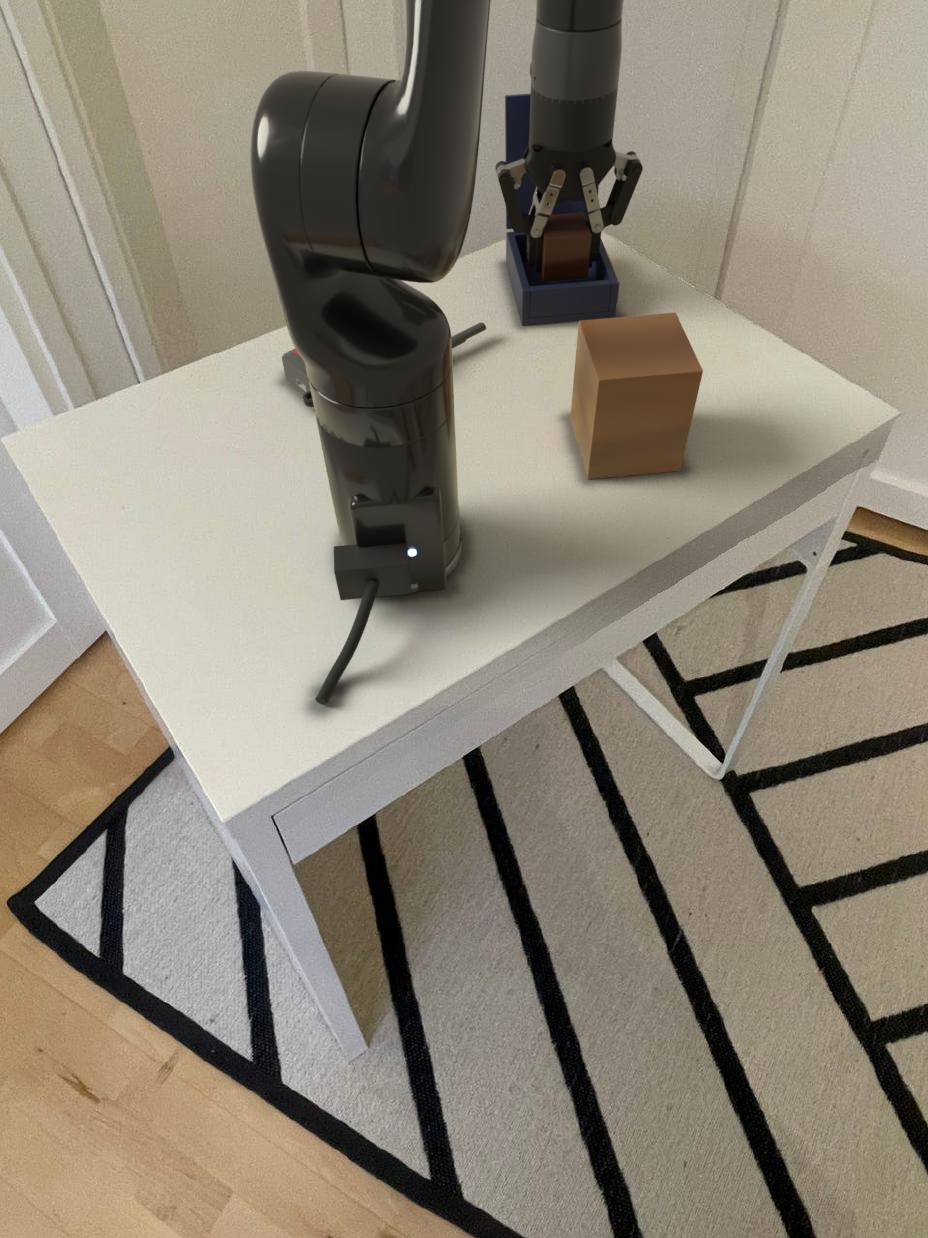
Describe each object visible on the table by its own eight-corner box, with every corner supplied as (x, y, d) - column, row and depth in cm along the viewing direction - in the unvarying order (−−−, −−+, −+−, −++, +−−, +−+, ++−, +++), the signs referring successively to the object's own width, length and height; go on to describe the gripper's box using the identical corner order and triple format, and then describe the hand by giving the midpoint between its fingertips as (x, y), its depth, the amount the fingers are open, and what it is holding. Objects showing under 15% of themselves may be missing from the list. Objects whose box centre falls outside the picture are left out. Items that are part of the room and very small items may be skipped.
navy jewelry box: (615, 317, 87) (619, 282, 84) (521, 325, 86) (522, 291, 83) (592, 258, 94) (595, 224, 91) (505, 265, 93) (506, 231, 90)
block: (587, 278, 86) (591, 234, 82) (543, 281, 86) (545, 238, 82) (579, 255, 89) (582, 211, 85) (536, 258, 88) (537, 215, 85)
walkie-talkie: (323, 428, 77) (492, 342, 85) (315, 388, 74) (492, 301, 81) (272, 383, 81) (437, 305, 89) (262, 343, 78) (435, 265, 85)
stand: (680, 470, 72) (703, 370, 64) (587, 479, 72) (598, 380, 64) (657, 411, 77) (675, 311, 69) (569, 419, 77) (578, 320, 69)
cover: (604, 89, 82) (594, 78, 86) (505, 96, 82) (499, 85, 85) (596, 222, 90) (587, 207, 94) (506, 229, 90) (500, 214, 93)
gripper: (497, 102, 71) (497, 292, 84) (667, 89, 71) (639, 279, 85) (486, 67, 75) (487, 252, 89) (646, 56, 76) (623, 241, 89)
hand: (562, 265), depth 87 cm, fingers closed on block, 4 cm apart
